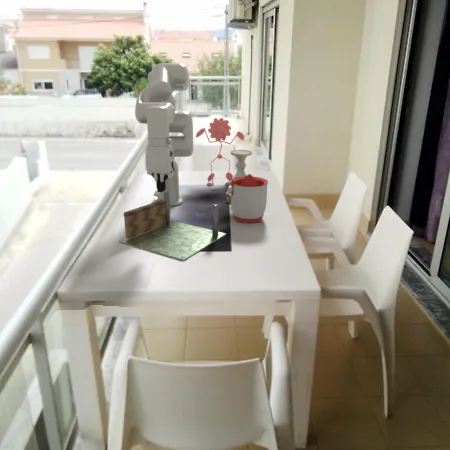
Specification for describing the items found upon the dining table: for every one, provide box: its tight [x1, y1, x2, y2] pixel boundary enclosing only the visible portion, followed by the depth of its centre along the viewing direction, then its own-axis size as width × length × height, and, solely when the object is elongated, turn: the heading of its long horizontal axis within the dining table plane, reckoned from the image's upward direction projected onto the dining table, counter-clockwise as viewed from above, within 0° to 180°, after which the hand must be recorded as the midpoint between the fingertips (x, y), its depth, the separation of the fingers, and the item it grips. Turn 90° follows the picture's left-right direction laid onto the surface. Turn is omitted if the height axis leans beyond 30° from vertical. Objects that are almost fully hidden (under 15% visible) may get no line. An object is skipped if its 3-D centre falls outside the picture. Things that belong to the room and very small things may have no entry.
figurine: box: [195, 117, 245, 186], centre depth 239 cm, size 15×26×35 cm, turn 98°
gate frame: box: [119, 192, 227, 262], centre depth 165 cm, size 30×28×14 cm
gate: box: [123, 200, 166, 239], centre depth 170 cm, size 20×2×10 cm, turn 143°
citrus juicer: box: [226, 173, 269, 224], centre depth 185 cm, size 16×17×20 cm
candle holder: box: [225, 149, 253, 204], centre depth 208 cm, size 11×11×24 cm
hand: (161, 191), depth 161 cm, fingers closed
